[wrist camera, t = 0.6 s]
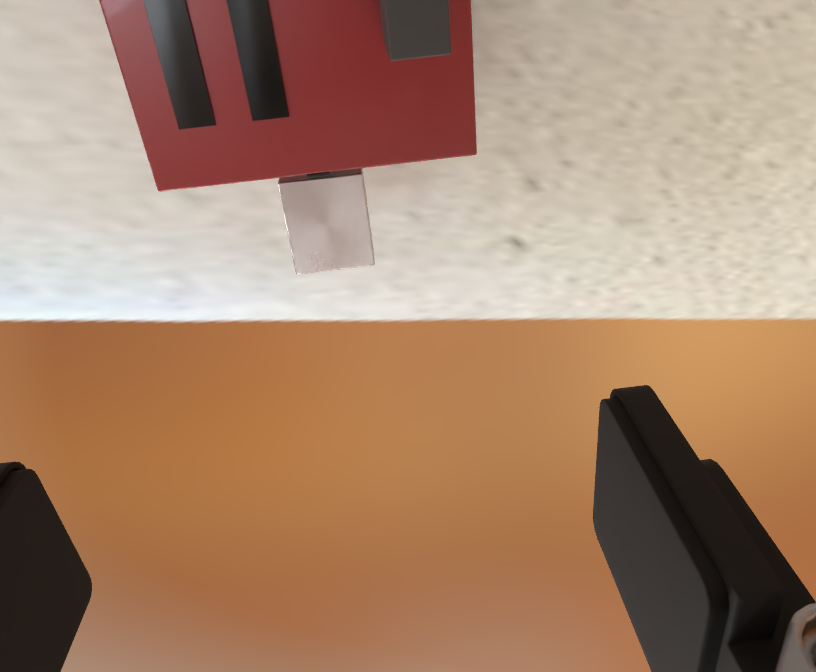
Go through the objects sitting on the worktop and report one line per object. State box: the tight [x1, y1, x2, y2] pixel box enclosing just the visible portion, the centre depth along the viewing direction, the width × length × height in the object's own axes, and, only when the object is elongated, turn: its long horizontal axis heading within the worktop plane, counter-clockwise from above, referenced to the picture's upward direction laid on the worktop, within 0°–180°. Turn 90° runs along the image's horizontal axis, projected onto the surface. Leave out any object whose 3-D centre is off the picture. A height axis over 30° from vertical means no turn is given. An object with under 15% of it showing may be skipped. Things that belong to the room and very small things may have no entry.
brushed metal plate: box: [278, 168, 375, 274], centre depth 25 cm, size 4×3×1 cm
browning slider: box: [379, 0, 451, 61], centre depth 18 cm, size 2×2×4 cm
